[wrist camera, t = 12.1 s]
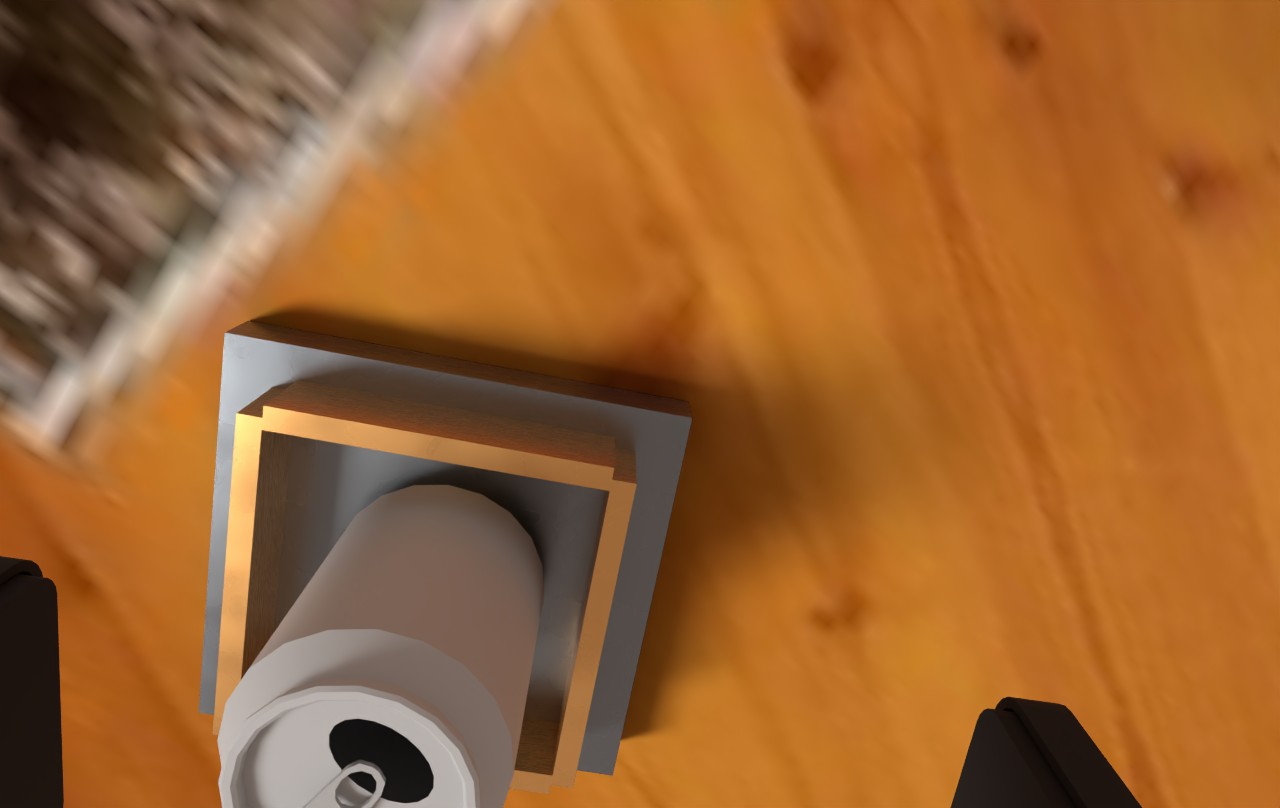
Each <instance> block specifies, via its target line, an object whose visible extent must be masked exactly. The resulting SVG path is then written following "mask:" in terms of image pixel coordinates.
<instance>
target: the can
mask: <svg viewBox="0 0 1280 808" xmlns="http://www.w3.org/2000/svg"><path fill="white" fill-rule="evenodd" d="M543 599H544V584H543V565H542V563H541V560H540V558H539V555H538V553H537V550H536V548H535V545H534V543H533V540H532V538H531V536H530V535H529V534H528V533H527V532H526V531H525V529H524V528H523V527H522V526H521V525H520V523H519V522H518V521H517V520H516V519H515V518H514V516H513V515H512V514H511V513H510V512H509V511H507V510H506V509H504V508H502V507H501V506H499V505H498V504H496V503H495V502H493V501H491V500H490V499H488V498H487V497H485V496H484V495H482V494H479V493H475V492H472V491H468V490H465V489H461V488H458V487H454V486H451V485H413V486H410V487H407V488H404V489H401V490H398V491H395V492H391V493H388V494H385V495H382V496H381V497H379V498H378V499H377V500H375V501H374V502H373V503H371V504H370V505H368V506H367V507H366V508H364V509H363V510H362V511H360V512H359V513H357V514H356V516H355V517H354V518H353V520H352V521H351V523H350V524H349V526H348V527H347V528H346V530H345V531H344V533H343V534H342V536H341V537H340V539H339V540H338V541H337V543H336V544H335V546H334V547H333V549H332V550H331V551H330V553H329V554H328V556H327V557H326V559H325V560H324V562H323V563H322V564H321V566H320V567H319V569H318V570H317V572H316V573H315V574H314V576H313V577H312V579H311V580H310V582H309V583H308V585H307V586H306V587H305V589H304V590H303V592H302V593H301V595H300V596H299V597H298V599H297V600H296V602H295V603H294V605H293V606H292V608H291V609H290V610H289V612H288V613H287V615H286V616H285V618H284V619H283V620H282V622H281V623H280V625H279V626H278V628H277V629H276V630H275V632H274V633H273V635H272V636H271V638H270V639H269V641H268V642H267V643H266V645H265V646H264V648H263V649H262V651H261V652H260V653H259V655H258V656H257V658H256V659H255V661H254V662H253V664H252V665H251V666H250V668H249V669H248V671H247V672H246V674H245V675H244V677H243V678H242V680H241V681H240V682H239V684H238V685H237V687H236V688H235V690H234V691H233V693H232V694H231V696H230V697H229V699H228V700H227V702H226V704H225V709H224V713H223V718H222V723H221V727H220V732H219V736H218V747H219V753H220V759H221V765H222V769H221V773H220V777H219V782H218V783H219V789H220V795H221V801H222V808H503V805H504V802H505V799H506V796H507V793H508V790H509V787H510V784H511V781H512V778H513V775H514V769H515V763H516V757H517V751H518V745H519V740H520V734H521V728H522V722H523V716H524V710H525V704H526V699H527V693H528V687H529V681H530V675H531V669H532V663H533V657H534V652H535V646H536V640H537V634H538V628H539V622H540V616H541V610H542V605H543Z"/></svg>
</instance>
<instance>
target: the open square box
mask: <svg viewBox="0 0 1280 808" xmlns="http://www.w3.org/2000/svg"><path fill="white" fill-rule="evenodd" d="M691 422H692V415H691V410H690V406H689V402H687V401H682V400H676V399H671V398H665V397H660V396H655V395H649V394H644V393H638V392H633V391H627V390H622V389H617V388H611V387H606V386H600V385H595V384H589V383H584V382H579V381H573V380H568V379H562V378H557V377H551V376H546V375H541V374H535V373H530V372H524V371H519V370H513V369H508V368H503V367H497V366H492V365H486V364H481V363H475V362H470V361H464V360H459V359H454V358H448V357H443V356H437V355H432V354H426V353H421V352H416V351H410V350H405V349H399V348H394V347H388V346H383V345H378V344H372V343H367V342H361V341H356V340H350V339H345V338H340V337H334V336H329V335H323V334H318V333H312V332H307V331H302V330H296V329H291V328H285V327H280V326H274V325H269V324H264V323H258V322H253V321H247V322H245V323H243V324H241V325H239V326H237V327H235V328H233V329H231V330H229V331H227V332H225V336H224V351H223V365H222V380H221V395H220V409H219V424H218V439H217V453H216V468H215V483H214V497H213V512H212V527H211V541H210V556H209V571H208V585H207V600H206V615H205V629H204V644H203V659H202V673H201V688H200V703H199V713H206V714H212V715H214V723H213V734H215V735H219V732H220V727H221V723H222V718H223V713H224V709H225V704H226V702H227V700H228V699H229V697H230V696H231V694H232V693H233V691H234V690H235V688H236V687H237V685H238V684H239V682H240V681H241V680H242V678H243V677H244V675H245V674H246V672H247V671H248V669H249V668H250V666H251V665H252V664H253V662H254V661H255V659H256V658H257V656H258V655H259V653H260V652H261V651H262V649H263V648H264V646H265V645H266V643H267V642H268V641H269V639H270V638H271V636H272V635H273V633H274V632H275V630H276V629H277V628H278V626H279V625H280V623H281V622H282V620H283V619H284V618H285V616H286V615H287V613H288V612H289V610H290V609H291V608H292V606H293V605H294V603H295V602H296V600H297V599H298V597H299V596H300V595H301V593H302V592H303V590H304V589H305V587H306V586H307V585H308V583H309V582H310V580H311V579H312V577H313V576H314V574H315V573H316V572H317V570H318V569H319V567H320V566H321V564H322V563H323V562H324V560H325V559H326V557H327V556H328V554H329V553H330V551H331V550H332V549H333V547H334V546H335V544H336V543H337V541H338V540H339V539H340V537H341V536H342V534H343V533H344V531H345V530H346V528H347V527H348V526H349V524H350V523H351V521H352V520H353V518H354V517H355V516H356V514H357V513H359V512H360V511H362V510H363V509H364V508H366V507H367V506H368V505H370V504H371V503H373V502H374V501H375V500H377V499H378V498H379V497H381V496H382V495H385V494H388V493H391V492H395V491H398V490H401V489H404V488H407V487H410V486H413V485H451V486H454V487H458V488H461V489H465V490H468V491H472V492H475V493H479V494H482V495H484V496H485V497H487V498H488V499H490V500H491V501H493V502H495V503H496V504H498V505H499V506H501V507H502V508H504V509H506V510H507V511H509V512H510V513H511V514H512V515H513V516H514V518H515V519H516V520H517V521H518V522H519V523H520V525H521V526H522V527H523V528H524V529H525V531H526V532H527V533H528V534H529V535H530V536H531V538H532V540H533V543H534V545H535V548H536V550H537V553H538V555H539V558H540V560H541V563H542V565H543V584H544V599H543V605H542V610H541V616H540V622H539V628H538V634H537V640H536V646H535V652H534V657H533V663H532V669H531V675H530V681H529V687H528V693H527V699H526V704H525V710H524V716H523V722H522V728H521V734H520V740H519V745H518V751H517V757H516V763H515V769H514V775H513V778H512V781H511V784H510V787H509V789H516V790H523V791H529V792H536V793H543V794H549V791H550V786H551V785H553V786H560V787H566V788H573V786H574V781H575V776H576V772H577V770H579V771H586V772H592V773H599V774H606V775H612V776H613V772H614V767H615V763H616V758H617V754H618V749H619V745H620V740H621V736H622V731H623V727H624V722H625V718H626V713H627V709H628V704H629V700H630V695H631V691H632V686H633V682H634V677H635V673H636V668H637V664H638V660H639V655H640V651H641V646H642V642H643V637H644V633H645V628H646V624H647V619H648V615H649V610H650V606H651V601H652V597H653V592H654V588H655V583H656V579H657V574H658V570H659V565H660V561H661V556H662V552H663V547H664V543H665V539H666V534H667V530H668V525H669V521H670V516H671V512H672V507H673V503H674V498H675V494H676V489H677V485H678V480H679V476H680V471H681V467H682V462H683V458H684V453H685V449H686V444H687V440H688V435H689V431H690V427H691Z"/></svg>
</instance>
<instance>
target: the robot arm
mask: <svg viewBox="0 0 1280 808" xmlns="http://www.w3.org/2000/svg"><path fill="white" fill-rule="evenodd" d="M63 802H64V798H63V767H62V735H61V703H60V672H59V640H58V608H57V591H56V586H55V585H54V583H53V581H52V580H50V579H49V578H43V575H42V572H41V570H40V568H39V566H38V565H37V564H36V563H34V562H33V561H30V560H23V559H16V558H9V557H2V556H0V808H63ZM951 808H1142V807H1141V805H1140V804H1139V803H1138V801H1137V800H1136V799H1135V797H1134V796H1133V795H1132V793H1131V792H1130V791H1129V789H1128V788H1127V787H1126V785H1125V784H1124V782H1123V781H1122V780H1121V778H1120V777H1119V776H1118V774H1117V773H1116V772H1115V770H1114V769H1113V768H1112V766H1111V765H1110V764H1109V762H1108V761H1107V759H1106V758H1105V757H1104V755H1103V754H1102V753H1101V751H1100V750H1099V749H1098V747H1097V746H1096V745H1095V743H1094V742H1093V741H1092V739H1091V738H1090V736H1089V735H1088V734H1087V732H1086V731H1085V730H1084V728H1083V727H1082V726H1081V724H1080V723H1079V722H1078V720H1077V719H1076V718H1075V716H1074V715H1073V714H1072V712H1071V711H1070V710H1069V709H1068V708H1067V707H1066V706H1064V705H1061V704H1057V703H1049V702H1042V701H1035V700H1028V699H1021V698H1013V697H1006V698H1003V699H1002V700H1001V701H1000V702H999V703H998V704H997V706H996V708H995V709H985V710H983V712H982V713H981V714H980V716H979V718H978V720H977V723H976V726H975V730H974V733H973V736H972V740H971V743H970V746H969V749H968V753H967V756H966V759H965V763H964V766H963V769H962V772H961V776H960V779H959V782H958V786H957V789H956V792H955V795H954V799H953V802H952V805H951Z"/></svg>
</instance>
